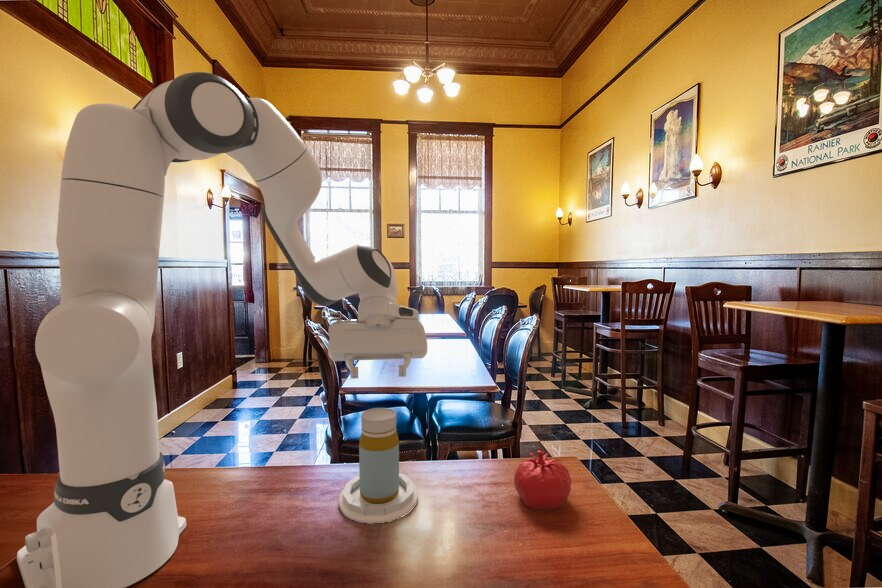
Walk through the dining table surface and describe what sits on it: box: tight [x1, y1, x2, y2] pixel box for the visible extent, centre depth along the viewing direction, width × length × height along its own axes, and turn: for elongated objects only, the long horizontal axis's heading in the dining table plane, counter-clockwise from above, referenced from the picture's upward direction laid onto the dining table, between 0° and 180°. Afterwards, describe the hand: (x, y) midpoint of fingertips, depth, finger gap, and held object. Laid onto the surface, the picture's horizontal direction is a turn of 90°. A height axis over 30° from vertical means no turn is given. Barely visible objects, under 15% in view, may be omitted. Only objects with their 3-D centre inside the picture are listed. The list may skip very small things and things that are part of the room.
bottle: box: [358, 407, 400, 504], centre depth 75 cm, size 7×7×15 cm
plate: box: [338, 472, 419, 525], centre depth 76 cm, size 14×14×2 cm
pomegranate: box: [513, 450, 572, 510], centre depth 76 cm, size 10×10×9 cm
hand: (378, 376), depth 82 cm, fingers open, 8 cm apart
